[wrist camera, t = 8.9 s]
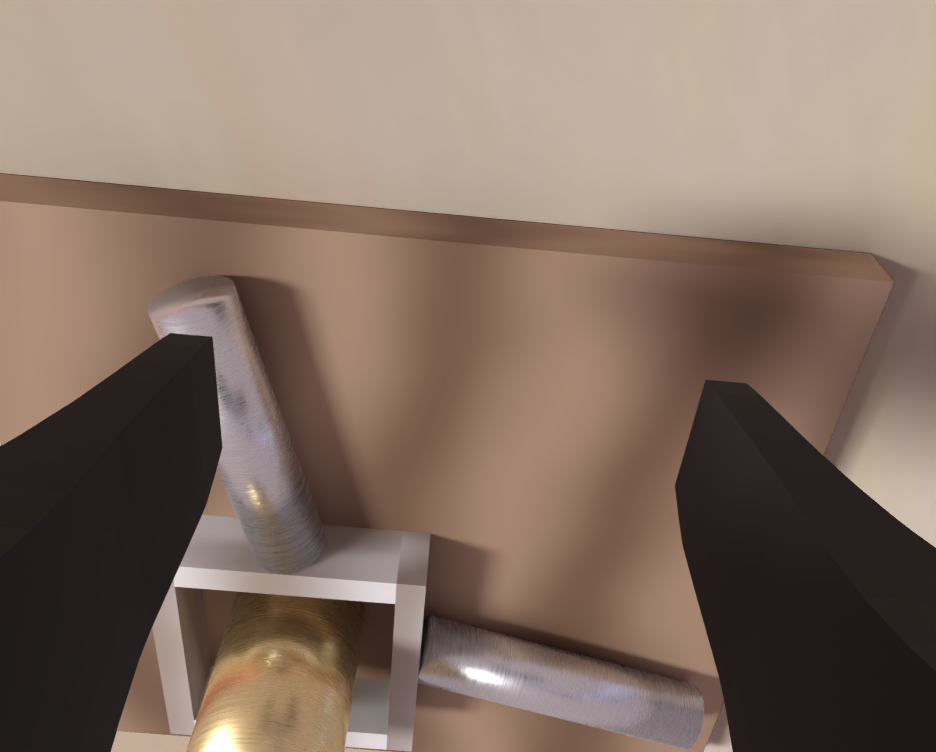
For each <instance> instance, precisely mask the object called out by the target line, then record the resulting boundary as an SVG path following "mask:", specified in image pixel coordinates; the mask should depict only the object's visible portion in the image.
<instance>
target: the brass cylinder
mask: <svg viewBox="0 0 936 752" xmlns="http://www.w3.org/2000/svg"><path fill="white" fill-rule="evenodd" d="M364 622H365V605H364V602H363V601H350V600H338V599H325V598H312V597H300V596H287V595H274V594H262V593H249V592H237V595H236V598H235V601H234V604H233V607H232V611H231V614H230V617H229V620H228V623H227V626H226V629H225V632H224V636H223V639H222V642H221V645H220V648H219V651H218V654H217V658H216V661H215V664H214V667H213V670H212V673H211V676H210V679H209V683H208V686H207V689H206V692H205V695H204V698H203V701H202V705H201V708H200V711H199V714H198V717H197V720H196V723H195V726H194V730H193V733H192V736H191V739H190V742H189V745H188V748H187V752H344V749H345V743H346V736H347V730H348V724H349V717H350V711H351V705H352V698H353V692H354V685H355V679H356V673H357V666H358V660H359V654H360V647H361V641H362V634H363V628H364Z"/></svg>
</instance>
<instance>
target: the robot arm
mask: <svg viewBox="0 0 936 752" xmlns="http://www.w3.org/2000/svg"><path fill="white" fill-rule="evenodd" d="M221 451H222V436H221V425H220V414H219V403H218V391H217V380H216V369H215V358H214V346H213V337H211V336H199V335H188V334H176V333H170V334H168V335H167V336H165V337H163V338H162V339H160V340H159V341H158V342H156V343H155V344H153V345H152V346H150V347H149V348H148V349H146V350H145V351H143V352H142V353H141V354H139V355H138V356H137V357H135V358H134V359H132V360H131V361H130V362H128V363H127V364H126V365H124V366H123V367H121V368H120V369H119V370H117V371H116V372H114V373H113V374H112V375H110V376H109V377H107V378H106V379H104V380H103V381H102V382H100V383H99V384H97V385H96V386H94V387H93V388H92V389H90V390H89V391H87V392H86V393H84V394H83V395H82V396H80V397H79V398H77V399H76V400H74V401H73V402H71V403H70V404H68V405H67V406H65V407H63V408H62V409H60V410H59V411H57V412H55V413H54V414H52V415H51V416H49V417H47V418H46V419H44V420H43V421H41V422H39V423H38V424H36V425H35V426H33V427H32V428H30V429H28V430H27V431H25V432H24V433H22V434H20V435H19V436H17V437H15V438H14V439H12V440H10V441H8V442H7V443H5V444H3V445H1V446H0V752H111V748H112V745H113V742H114V738H115V735H116V731H117V728H118V725H119V721H120V718H121V715H122V712H123V709H124V706H125V703H126V700H127V696H128V693H129V690H130V687H131V684H132V681H133V678H134V675H135V672H136V668H137V665H138V662H139V659H140V657H141V654H142V651H143V649H144V646H145V644H146V641H147V639H148V636H149V634H150V631H151V629H152V627H153V624H154V622H155V620H156V618H157V615H158V613H159V611H160V609H161V606H162V604H163V602H164V600H165V597H166V595H167V593H168V591H169V589H170V586H171V584H172V582H173V580H174V577H175V575H176V573H177V571H178V568H179V566H180V564H181V562H182V559H183V557H184V555H185V553H186V551H187V548H188V546H189V544H190V541H191V539H192V537H193V535H194V532H195V530H196V528H197V525H198V523H199V521H200V519H201V516H202V514H203V512H204V509H205V507H206V504H207V501H208V497H209V494H210V491H211V487H212V484H213V481H214V477H215V473H216V470H217V466H218V462H219V459H220V455H221ZM675 491H676V500H677V509H678V517H679V525H680V532H681V539H682V545H683V549H684V553H685V557H686V560H687V564H688V568H689V571H690V575H691V579H692V583H693V586H694V590H695V594H696V597H697V601H698V604H699V608H700V611H701V615H702V618H703V622H704V626H705V629H706V633H707V636H708V640H709V643H710V647H711V650H712V654H713V658H714V661H715V665H716V668H717V672H718V676H719V680H720V684H721V689H722V693H723V697H724V702H725V707H726V713H727V719H728V725H729V731H730V737H731V743H732V749H733V752H936V548H935V547H934V546H932V545H931V544H930V543H928V542H927V541H925V540H924V539H923V538H921V537H920V536H918V535H917V534H916V533H914V532H913V531H911V530H910V529H909V528H908V527H906V526H905V525H904V524H902V523H901V522H900V521H898V520H897V519H896V518H895V517H893V516H892V515H891V514H890V513H889V512H887V511H886V510H885V509H884V508H883V507H881V506H880V505H879V504H878V503H877V502H875V501H874V500H873V499H872V498H870V497H869V496H868V495H867V494H866V493H864V492H863V491H862V490H861V489H860V488H859V487H857V486H856V485H855V484H854V483H853V482H852V481H851V480H850V479H848V478H847V477H846V476H845V475H844V474H843V473H842V472H841V471H839V470H838V469H837V468H836V467H835V466H834V465H833V464H832V463H831V462H830V461H829V460H827V459H826V458H825V457H824V456H823V455H822V454H821V453H820V452H819V451H818V450H817V449H816V448H815V447H814V446H813V445H812V444H810V443H809V442H808V441H807V440H806V439H805V438H804V437H803V436H802V435H801V434H800V433H799V432H798V431H797V430H796V429H795V428H794V427H793V426H792V425H791V424H790V423H789V422H788V421H787V420H786V419H785V418H784V417H783V416H782V415H781V414H780V413H778V412H777V411H776V410H775V409H774V408H773V407H772V406H771V405H770V404H769V403H768V402H767V401H766V400H765V399H764V398H763V397H762V396H761V395H760V394H759V393H757V392H756V391H755V390H754V389H753V388H752V387H751V386H749V385H748V384H747V383H738V382H727V381H715V380H705V383H704V387H703V390H702V394H701V397H700V400H699V404H698V407H697V411H696V414H695V418H694V421H693V425H692V428H691V431H690V435H689V438H688V442H687V445H686V449H685V452H684V456H683V459H682V462H681V466H680V469H679V473H678V476H677V480H676V483H675Z"/></svg>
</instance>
